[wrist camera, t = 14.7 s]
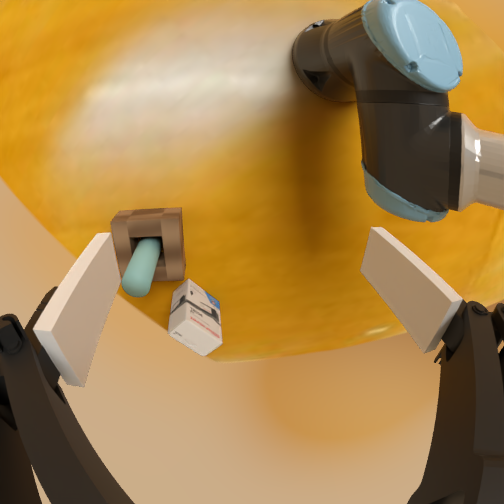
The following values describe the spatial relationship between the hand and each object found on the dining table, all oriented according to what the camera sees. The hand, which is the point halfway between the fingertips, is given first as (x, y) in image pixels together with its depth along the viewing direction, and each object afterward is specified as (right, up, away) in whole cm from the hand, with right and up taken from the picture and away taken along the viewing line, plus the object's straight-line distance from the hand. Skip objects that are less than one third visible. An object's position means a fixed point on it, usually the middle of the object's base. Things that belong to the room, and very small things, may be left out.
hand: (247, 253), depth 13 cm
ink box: (-11, -9, +40) cm, 42 cm away
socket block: (-17, +2, +32) cm, 37 cm away
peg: (-17, +2, +32) cm, 37 cm away
